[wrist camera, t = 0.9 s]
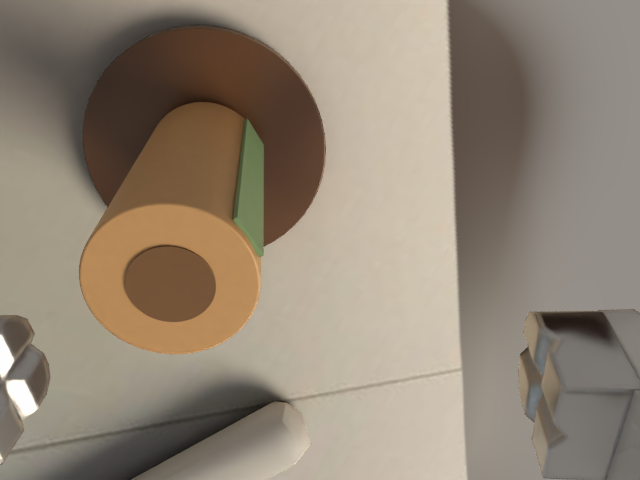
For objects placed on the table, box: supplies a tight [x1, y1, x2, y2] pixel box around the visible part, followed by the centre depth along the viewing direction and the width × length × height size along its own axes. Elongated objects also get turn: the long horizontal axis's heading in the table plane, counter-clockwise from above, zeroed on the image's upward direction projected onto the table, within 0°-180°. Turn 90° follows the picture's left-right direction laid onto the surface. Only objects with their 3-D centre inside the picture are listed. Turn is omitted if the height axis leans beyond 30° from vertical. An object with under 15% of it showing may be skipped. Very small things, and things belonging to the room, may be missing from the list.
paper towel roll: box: [79, 102, 264, 354], centre depth 26 cm, size 6×7×14 cm
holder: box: [83, 25, 326, 247], centre depth 33 cm, size 14×14×2 cm
